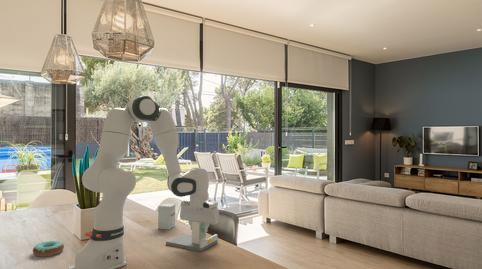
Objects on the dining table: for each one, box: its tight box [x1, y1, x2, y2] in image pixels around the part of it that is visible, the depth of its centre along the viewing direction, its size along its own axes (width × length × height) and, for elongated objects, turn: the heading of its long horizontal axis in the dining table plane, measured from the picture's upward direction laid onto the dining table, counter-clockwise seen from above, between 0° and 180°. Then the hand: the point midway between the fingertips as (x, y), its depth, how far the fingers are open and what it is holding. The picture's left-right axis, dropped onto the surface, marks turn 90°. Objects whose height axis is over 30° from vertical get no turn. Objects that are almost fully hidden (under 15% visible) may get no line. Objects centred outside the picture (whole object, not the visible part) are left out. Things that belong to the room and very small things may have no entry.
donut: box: [32, 240, 65, 258], centre depth 148 cm, size 12×12×4 cm
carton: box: [191, 221, 207, 244], centre depth 160 cm, size 6×4×10 cm
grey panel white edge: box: [165, 233, 218, 252], centre depth 162 cm, size 14×20×4 cm
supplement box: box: [157, 203, 176, 230], centre depth 188 cm, size 7×7×13 cm
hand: (199, 231), depth 160 cm, fingers open, 5 cm apart
